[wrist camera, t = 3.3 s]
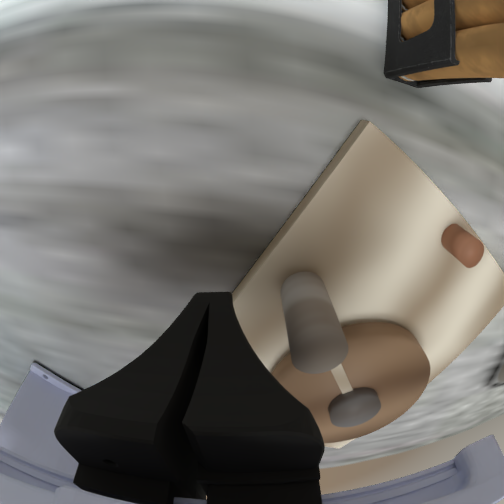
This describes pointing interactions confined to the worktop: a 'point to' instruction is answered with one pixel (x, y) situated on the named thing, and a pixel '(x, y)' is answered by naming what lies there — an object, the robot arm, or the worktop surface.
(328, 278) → the board
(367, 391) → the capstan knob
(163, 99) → the worktop surface
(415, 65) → the ammunition clip
